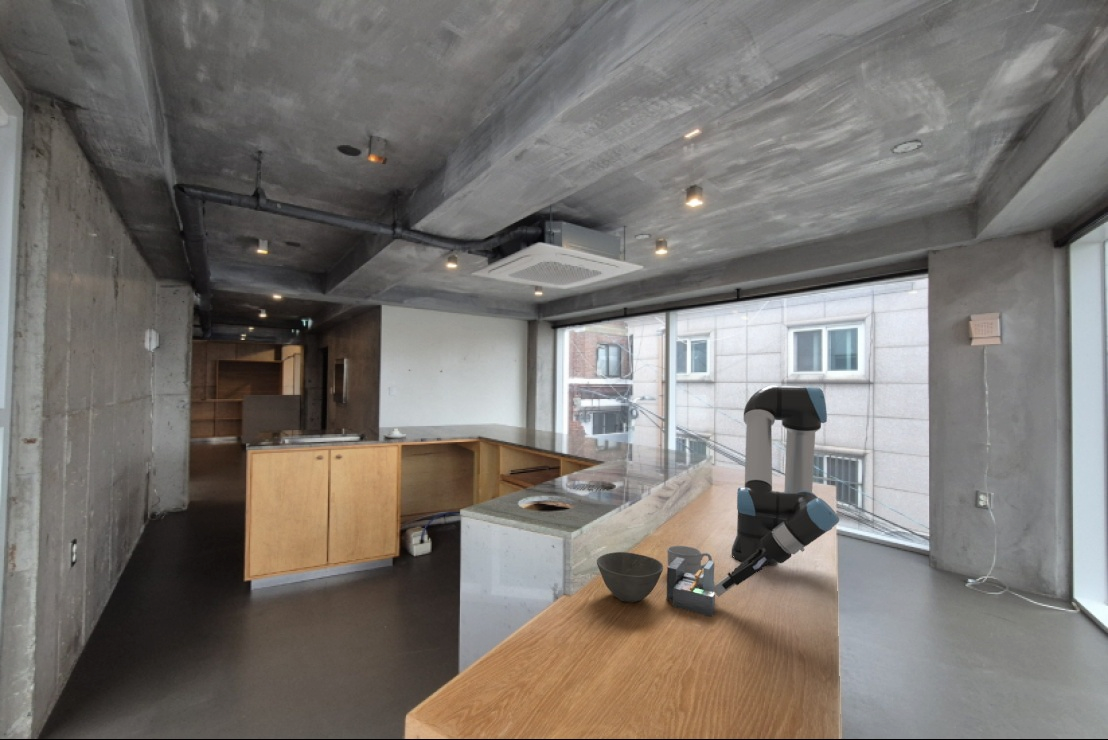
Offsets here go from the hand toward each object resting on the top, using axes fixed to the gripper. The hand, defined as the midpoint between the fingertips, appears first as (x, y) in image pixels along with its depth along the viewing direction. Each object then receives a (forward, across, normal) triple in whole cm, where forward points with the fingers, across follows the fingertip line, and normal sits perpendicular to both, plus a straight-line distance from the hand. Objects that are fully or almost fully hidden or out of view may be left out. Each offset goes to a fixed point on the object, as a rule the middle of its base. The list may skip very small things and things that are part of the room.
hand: (715, 591), depth 132 cm
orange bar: (+2, -3, +5) cm, 6 cm away
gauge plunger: (+6, 0, +2) cm, 6 cm away
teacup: (+11, +17, +6) cm, 21 cm away
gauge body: (+7, -2, +2) cm, 7 cm away
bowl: (+18, -10, +13) cm, 25 cm away
